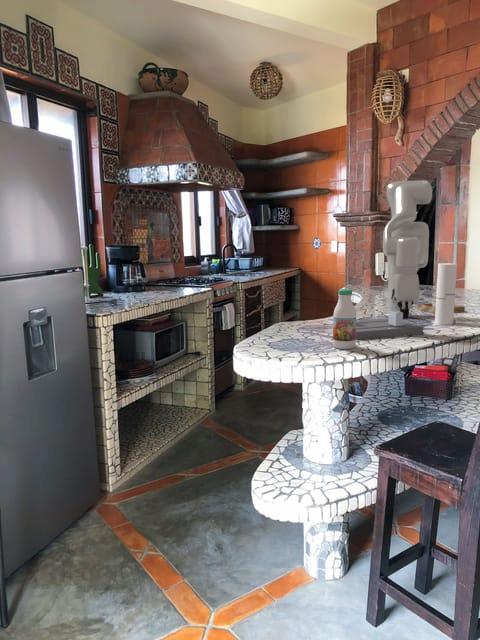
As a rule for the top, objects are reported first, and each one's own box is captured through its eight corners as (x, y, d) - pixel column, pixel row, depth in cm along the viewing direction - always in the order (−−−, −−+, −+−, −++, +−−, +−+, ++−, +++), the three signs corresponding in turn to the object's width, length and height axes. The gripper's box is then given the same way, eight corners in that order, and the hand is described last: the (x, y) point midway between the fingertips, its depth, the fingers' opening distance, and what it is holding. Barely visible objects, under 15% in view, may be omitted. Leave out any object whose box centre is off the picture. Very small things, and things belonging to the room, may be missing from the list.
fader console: (333, 329, 189) (333, 322, 189) (394, 324, 196) (394, 317, 195) (356, 339, 171) (356, 331, 171) (422, 334, 178) (423, 326, 177)
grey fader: (388, 323, 181) (388, 310, 180) (395, 323, 182) (395, 310, 181) (395, 326, 177) (396, 312, 176) (402, 325, 177) (403, 312, 176)
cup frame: (417, 308, 233) (417, 304, 232) (443, 307, 237) (443, 302, 236) (437, 313, 219) (437, 308, 218) (464, 311, 222) (464, 306, 222)
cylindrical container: (455, 325, 193) (459, 264, 188) (436, 324, 195) (440, 264, 190) (450, 321, 200) (454, 263, 195) (433, 321, 201) (436, 263, 197)
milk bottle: (330, 344, 165) (330, 288, 161) (351, 343, 165) (352, 287, 162) (336, 350, 157) (337, 291, 153) (358, 349, 158) (360, 290, 154)
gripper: (417, 269, 182) (414, 315, 185) (383, 271, 178) (381, 318, 181) (429, 270, 175) (427, 318, 178) (394, 272, 171) (392, 321, 174)
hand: (404, 318), depth 180 cm, fingers closed
